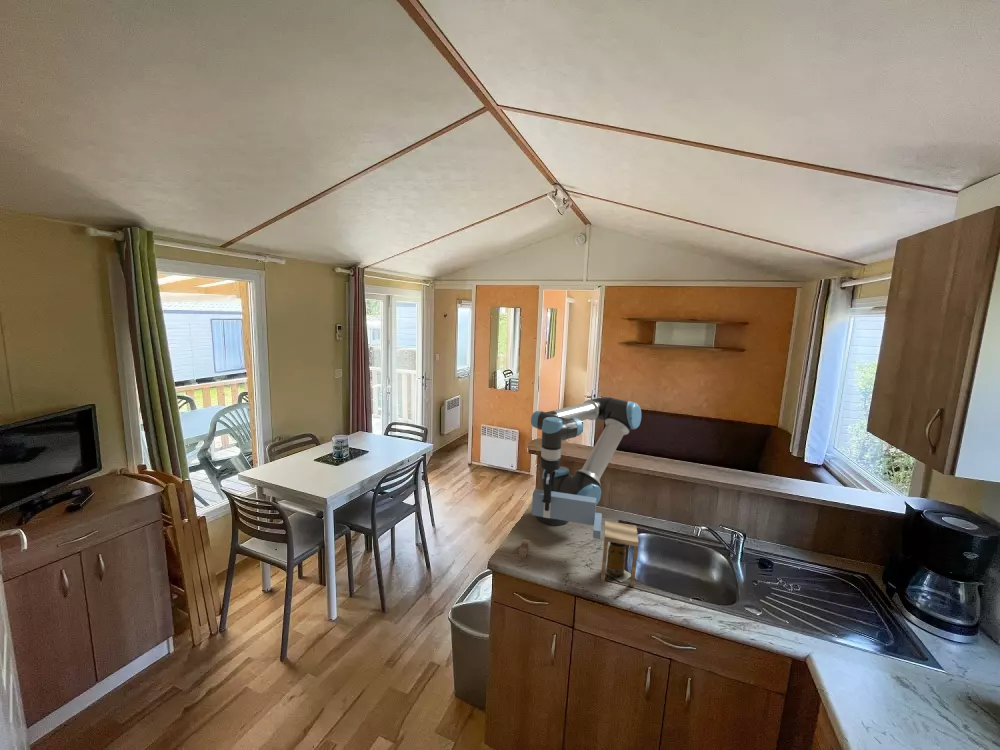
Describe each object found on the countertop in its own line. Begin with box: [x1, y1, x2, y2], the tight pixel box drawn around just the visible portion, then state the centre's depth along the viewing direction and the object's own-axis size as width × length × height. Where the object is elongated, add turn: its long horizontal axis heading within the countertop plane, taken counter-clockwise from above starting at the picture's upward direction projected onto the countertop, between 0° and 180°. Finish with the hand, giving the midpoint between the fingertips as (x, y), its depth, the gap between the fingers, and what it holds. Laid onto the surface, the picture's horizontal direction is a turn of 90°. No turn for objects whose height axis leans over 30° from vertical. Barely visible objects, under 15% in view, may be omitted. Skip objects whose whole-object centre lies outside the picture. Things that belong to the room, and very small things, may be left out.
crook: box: [531, 488, 603, 540], centre depth 156 cm, size 14×26×9 cm, turn 74°
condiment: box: [600, 542, 631, 583], centre depth 147 cm, size 7×8×12 cm
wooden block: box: [518, 538, 530, 559], centre depth 159 cm, size 8×2×3 cm, turn 166°
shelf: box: [600, 520, 639, 588], centre depth 146 cm, size 12×11×17 cm
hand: (547, 513), depth 163 cm, fingers closed on crook, 4 cm apart
